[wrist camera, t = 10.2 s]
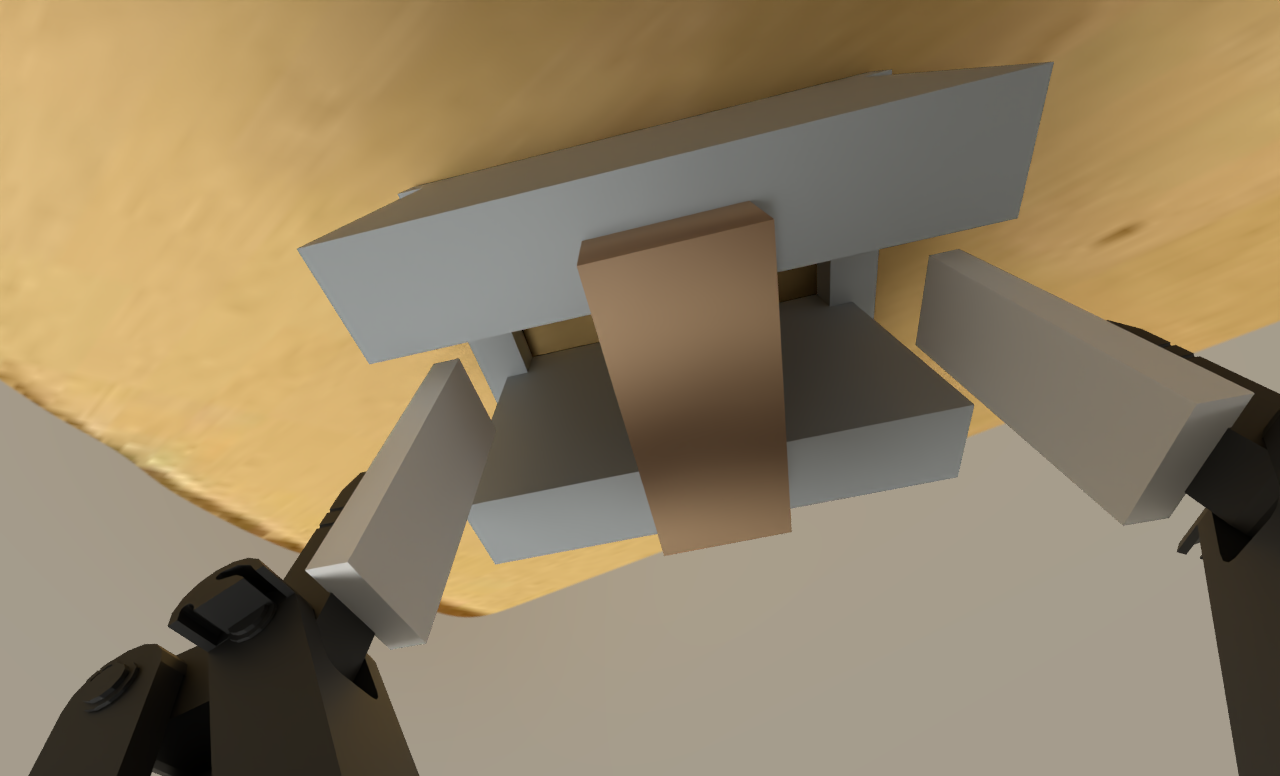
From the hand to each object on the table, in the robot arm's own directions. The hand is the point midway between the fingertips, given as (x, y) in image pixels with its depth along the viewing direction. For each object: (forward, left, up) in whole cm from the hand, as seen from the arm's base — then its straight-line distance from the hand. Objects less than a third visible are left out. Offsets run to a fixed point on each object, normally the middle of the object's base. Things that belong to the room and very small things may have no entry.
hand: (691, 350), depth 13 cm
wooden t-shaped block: (+1, 0, -7) cm, 7 cm away
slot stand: (0, 0, -9) cm, 9 cm away
